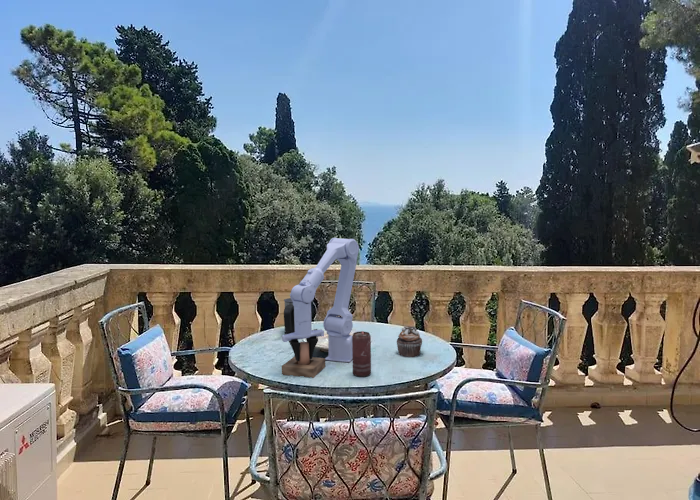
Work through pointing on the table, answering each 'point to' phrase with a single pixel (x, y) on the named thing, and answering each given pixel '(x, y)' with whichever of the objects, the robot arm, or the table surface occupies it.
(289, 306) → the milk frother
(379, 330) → the table surface
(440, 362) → the table surface
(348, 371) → the table surface
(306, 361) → the peg
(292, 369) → the socket block
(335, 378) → the table surface
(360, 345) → the can
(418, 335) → the cupcake
